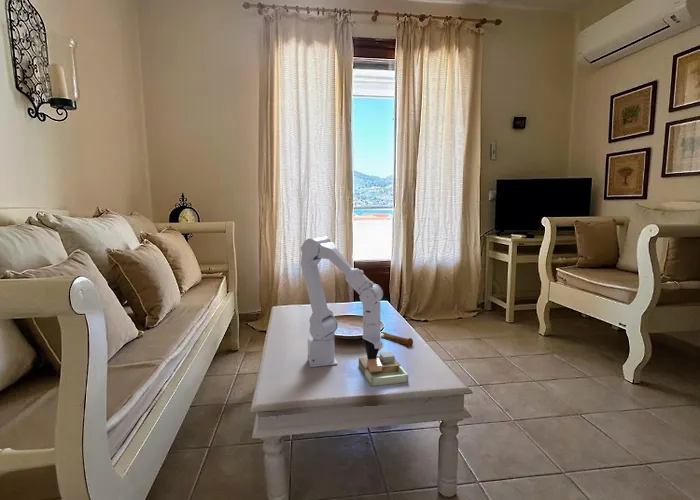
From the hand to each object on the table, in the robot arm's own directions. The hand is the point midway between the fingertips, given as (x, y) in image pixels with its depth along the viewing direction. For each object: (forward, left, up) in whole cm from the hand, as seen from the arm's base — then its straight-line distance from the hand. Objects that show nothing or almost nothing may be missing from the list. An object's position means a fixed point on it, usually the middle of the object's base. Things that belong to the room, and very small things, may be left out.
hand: (371, 361), depth 131 cm
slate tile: (+6, +2, -1) cm, 6 cm away
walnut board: (+3, +2, -3) cm, 5 cm away
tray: (+3, -6, -3) cm, 8 cm away
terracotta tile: (0, -3, -1) cm, 3 cm away
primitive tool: (+16, +27, -4) cm, 32 cm away
